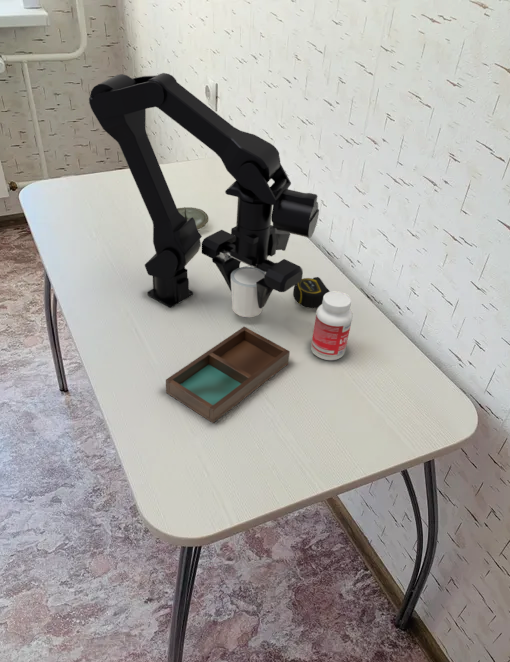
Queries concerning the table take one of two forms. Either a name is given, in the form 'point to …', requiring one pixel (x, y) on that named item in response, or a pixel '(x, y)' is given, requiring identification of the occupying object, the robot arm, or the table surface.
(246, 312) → the white cup
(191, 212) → the grey green bowl
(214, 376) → the holder
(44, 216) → the table surface
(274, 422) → the table surface
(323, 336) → the pill bottle
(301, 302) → the tape measure
